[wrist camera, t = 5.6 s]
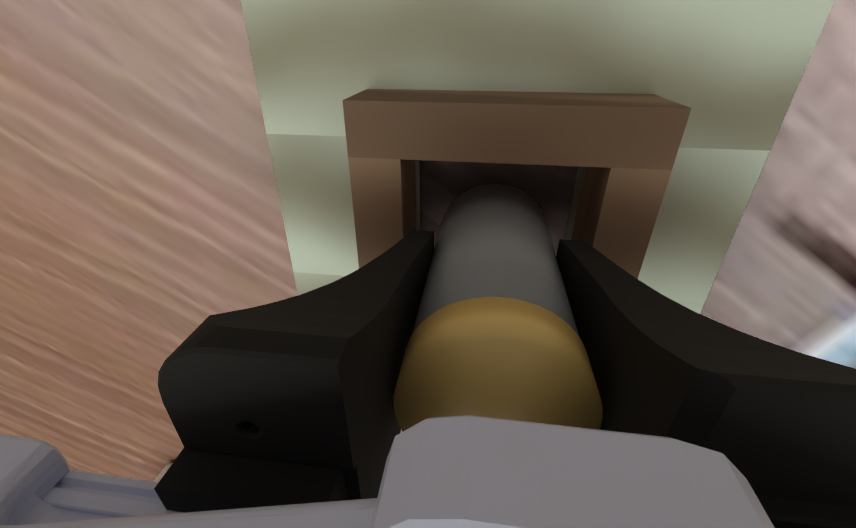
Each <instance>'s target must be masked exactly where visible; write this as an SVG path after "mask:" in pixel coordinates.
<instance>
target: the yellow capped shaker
mask: <svg viewBox="0 0 856 528" xmlns="http://www.w3.org/2000/svg"><path fill="white" fill-rule="evenodd" d="M393 406H394V412H395V416H396V419H397V422H398V424H399V426H400V428H401V429H402V431H405V430H407V429H409V428H411V427H412V426H414V425H416V424H418V423H419V422H421V421H423V420H425V419H428V418H433V417H448V416H463V415H473V416H482V417H491V418H500V419H509V420H518V421H527V422H536V423H545V424H553V425H562V426H571V427H580V428H589V429H598V430H599V429H600V427H601V423H602V418H603V407H602V402H601V398H600V394H599V391H598V388H597V384H596V381H595V378H594V374H593V371H592V368H591V365H590V361H589V358H588V355H587V352H586V349H585V347H584V344H583V342H582V341H581V339H580V337H579V334H578V330H577V327H576V324H575V320H574V317H573V313H572V310H571V307H570V303H569V300H568V296H567V293H566V290H565V286H564V283H563V279H562V276H561V273H560V269H559V266H558V262H557V259H556V256H555V252H554V249H553V245H552V242H551V238H550V235H549V232H548V228H547V225H546V221H545V218H544V216H543V213H542V211H541V209H540V208H539V206H538V205H537V204H536V202H535V201H534V200H533V199H532V198H531V197H530V196H528V195H527V194H525V193H524V192H522V191H520V190H518V189H516V188H513V187H510V186H506V185H499V184H488V185H482V186H478V187H474V188H472V189H470V190H467V191H466V192H464V193H462V194H461V195H459V196H458V197H457V198H456V199H455V200H454V201H453V202H452V203H451V204H450V205H449V206H448V208H447V209H446V211H445V213H444V215H443V218H442V220H441V224H440V228H439V232H438V236H437V240H436V243H435V247H434V252H433V256H432V260H431V264H430V268H429V271H428V275H427V278H426V282H425V286H424V290H423V294H422V298H421V302H420V305H419V309H418V313H417V317H416V321H415V325H414V329H413V333H412V335H411V337H410V339H409V341H408V344H407V346H406V350H405V354H404V357H403V361H402V365H401V369H400V372H399V376H398V380H397V384H396V387H395V392H394V402H393Z"/></svg>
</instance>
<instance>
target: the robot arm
mask: <svg viewBox="0 0 856 528" xmlns="http://www.w3.org/2000/svg"><path fill="white" fill-rule="evenodd" d="M433 252H434V232H430V231H412V232H410V233H409V234H408V235H406V236H405V237H404V238H403V239H401V240H400V241H399V242H397V243H396V244H395V245H393V246H392V247H391V248H389V249H388V250H387V251H385V252H384V253H383V254H381V255H380V256H378V257H377V258H375V259H373V260H372V261H370V262H369V263H367V264H366V265H364V266H363V267H361V268H359V269H358V270H356V271H354V272H352V273H350V274H348V275H346V276H344V277H342V278H340V279H338V280H336V281H334V282H332V283H330V284H327V285H324V286H322V287H319V288H317V289H314V290H311V291H309V292H306V293H304V294H301V295H298V296H295V297H291V298H288V299H285V300H281V301H278V302H274V303H270V304H266V305H262V306H258V307H253V308H248V309H243V310H238V311H232V312H227V313H222V314H216V315H210V316H209V317H208V318H207V319H206V320H205V321H204V322H203V323H202V324H201V325H200V326H199V327H198V328H197V329H196V330H195V331H194V332H193V333H192V334H191V335H190V336H189V337H188V338H187V339H186V340H185V341H184V342H183V343H182V344H181V345H180V346H179V347H178V348H177V349H176V350H175V351H174V352H173V353H172V354H171V355H170V356H169V357H168V358H167V359H166V360H165V362H164V363H163V365H162V367H161V369H160V370H159V375H158V388H159V391H160V394H161V398H162V401H163V404H164V406H165V408H166V410H167V412H168V414H169V416H170V418H171V420H172V422H173V424H174V427H175V429H176V431H177V433H178V435H179V437H180V439H181V441H182V443H183V445H184V449H183V450H182V451H181V453H180V454H179V455H178V457H177V458H176V459H175V461H174V462H173V464H172V465H171V466H170V468H169V469H168V470H167V472H166V473H165V474H164V476H163V477H162V478H161V480H160V481H159V482H154V481H147V480H140V479H133V478H126V477H119V476H112V475H105V474H98V473H92V472H85V471H78V470H71V469H69V466H68V463H67V461H66V460H65V458H64V456H63V455H62V454H61V452H60V451H59V450H57V449H56V448H55V447H54V446H52V445H51V444H49V443H47V442H45V441H42V440H38V439H33V438H26V437H18V436H11V435H4V434H0V528H856V369H854V368H850V367H847V366H843V365H840V364H836V363H833V362H829V361H826V360H822V359H819V358H815V357H812V356H808V355H805V354H802V353H799V352H796V351H793V350H790V349H787V348H784V347H781V346H778V345H775V344H773V343H770V342H767V341H764V340H761V339H758V338H756V337H753V336H750V335H748V334H745V333H743V332H740V331H738V330H735V329H733V328H730V327H728V326H726V325H723V324H721V323H719V322H716V321H714V320H712V319H709V318H707V317H705V316H703V315H701V314H699V313H696V312H694V311H692V310H690V309H689V308H687V307H685V306H683V305H681V304H679V303H677V302H675V301H673V300H671V299H669V298H668V297H666V296H664V295H662V294H661V293H659V292H657V291H656V290H654V289H652V288H651V287H649V286H648V285H646V284H644V283H643V282H641V281H640V280H638V279H637V278H635V277H634V276H632V275H631V274H629V273H628V272H626V271H625V270H624V269H622V268H621V267H619V266H618V265H617V264H615V263H614V262H612V261H611V260H610V259H608V258H607V257H606V256H604V255H603V254H602V253H600V252H599V251H598V250H596V249H595V248H593V247H592V246H591V245H589V244H587V243H586V242H584V241H580V240H563V239H560V241H559V246H558V251H557V257H556V259H557V262H558V266H559V269H560V273H561V276H562V279H563V283H564V286H565V290H566V293H567V296H568V300H569V303H570V307H571V310H572V313H573V317H574V320H575V324H576V327H577V330H578V334H579V337H580V339H581V341H582V342H583V344H584V347H585V349H586V352H587V355H588V358H589V361H590V365H591V368H592V371H593V374H594V378H595V381H596V384H597V388H598V391H599V394H600V398H601V402H602V407H603V418H602V423H601V427H600V429H599V430H598V429H589V428H580V427H571V426H562V425H553V424H545V423H536V422H527V421H518V420H509V419H500V418H491V417H482V416H473V415H463V416H448V417H433V418H428V419H425V420H423V421H421V422H419V423H418V424H416V425H414V426H412V427H411V428H409V429H407V430H405V431H403V432H402V433H400V431H401V428H400V426H399V424H398V422H397V419H396V416H395V412H394V406H393V402H394V392H395V387H396V384H397V380H398V376H399V372H400V369H401V365H402V361H403V357H404V354H405V350H406V346H407V344H408V341H409V339H410V337H411V335H412V333H413V329H414V325H415V321H416V317H417V313H418V309H419V305H420V302H421V298H422V294H423V290H424V286H425V282H426V278H427V275H428V271H429V268H430V264H431V260H432V256H433Z"/></svg>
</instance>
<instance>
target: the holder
mask: <svg viewBox="0 0 856 528" xmlns="http://www.w3.org/2000/svg"><path fill="white" fill-rule="evenodd" d="M240 1H241V6H242V11H243V16H244V21H245V27H246V32H247V37H248V42H249V47H250V52H251V57H252V62H253V67H254V73H255V78H256V83H257V88H258V93H259V98H260V103H261V108H262V113H263V119H264V124H265V129H266V134H267V139H268V144H269V149H270V154H271V159H272V164H273V170H274V175H275V180H276V185H277V190H278V195H279V200H280V205H281V210H282V216H283V221H284V226H285V231H286V236H287V241H288V246H289V251H290V256H291V262H292V267H293V272H294V277H295V282H296V287H297V292H298V295H301V294H304V293H306V292H309V291H311V290H314V289H317V288H319V287H322V286H324V285H327V284H330V283H332V282H334V281H336V280H338V279H340V278H342V277H344V276H346V275H348V274H350V273H352V272H354V271H356V270H358V269H359V268H361V267H363V266H364V265H366V264H367V263H369V262H370V261H372V260H373V259H375V258H377V257H378V256H380V255H381V254H383V253H384V252H385V251H387V250H388V249H389V248H391V247H392V246H393V245H395V244H396V243H397V242H399V241H400V240H401V239H403V238H404V237H405V236H406V235H408V234H409V233H410V232H412V231H420V160H429V161H454V162H479V163H504V164H530V165H555V166H578V171H577V176H576V181H575V186H574V192H573V197H572V202H571V207H570V212H569V217H568V222H567V228H566V233H565V238H564V240H580V241H584V242H586V243H587V244H589V245H591V246H592V247H593V248H595V249H596V250H598V251H599V252H600V253H602V254H603V255H604V256H606V257H607V258H608V259H610V260H611V261H612V262H614V263H615V264H617V265H618V266H619V267H621V268H622V269H624V270H625V271H626V272H628V273H629V274H631V275H632V276H634V277H635V278H637V279H638V280H640V281H641V282H643V283H644V284H646V285H648V286H649V287H651V288H652V289H654V290H656V291H657V292H659V293H661V294H662V295H664V296H666V297H668V298H669V299H671V300H673V301H675V302H677V303H679V304H681V305H683V306H685V307H687V308H689V309H690V310H692V311H694V312H696V313H699V314H700V312H701V310H702V308H703V306H704V303H705V301H706V299H707V296H708V294H709V292H710V289H711V287H712V285H713V282H714V280H715V278H716V275H717V273H718V271H719V268H720V266H721V264H722V261H723V259H724V257H725V254H726V252H727V250H728V247H729V245H730V243H731V240H732V238H733V236H734V233H735V231H736V229H737V227H738V224H739V222H740V220H741V217H742V215H743V213H744V210H745V208H746V206H747V203H748V201H749V199H750V196H751V194H752V192H753V189H754V187H755V185H756V182H757V180H758V178H759V175H760V173H761V171H762V168H763V166H764V164H765V161H766V159H767V157H768V154H769V152H770V150H771V148H772V145H773V143H774V141H775V138H776V136H777V134H778V131H779V129H780V127H781V124H782V122H783V120H784V117H785V115H786V113H787V110H788V108H789V106H790V103H791V101H792V99H793V96H794V94H795V92H796V89H797V87H798V85H799V82H800V80H801V78H802V75H803V73H804V71H805V69H806V66H807V64H808V62H809V59H810V57H811V55H812V52H813V50H814V48H815V45H816V43H817V41H818V38H819V36H820V34H821V31H822V29H823V27H824V24H825V22H826V20H827V17H828V15H829V13H830V10H831V8H832V6H833V3H834V1H835V0H240Z"/></svg>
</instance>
